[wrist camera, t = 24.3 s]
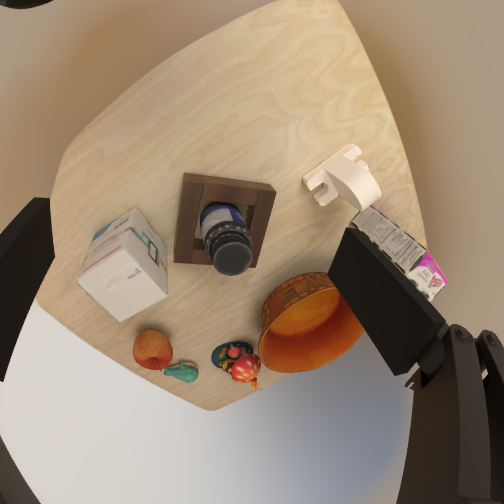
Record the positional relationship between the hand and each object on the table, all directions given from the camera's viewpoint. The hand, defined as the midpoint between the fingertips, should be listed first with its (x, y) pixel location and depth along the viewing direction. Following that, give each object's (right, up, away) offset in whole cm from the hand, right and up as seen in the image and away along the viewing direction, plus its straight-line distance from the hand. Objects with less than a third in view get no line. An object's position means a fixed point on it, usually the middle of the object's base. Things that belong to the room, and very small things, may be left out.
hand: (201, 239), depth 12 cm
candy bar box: (+24, +4, +39) cm, 46 cm away
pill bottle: (-3, +4, +32) cm, 32 cm away
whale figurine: (-13, -25, +47) cm, 55 cm away
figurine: (-2, -22, +49) cm, 54 cm away
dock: (-3, +4, +31) cm, 32 cm away
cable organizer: (+15, +12, +32) cm, 37 cm away
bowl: (+11, -10, +44) cm, 47 cm away
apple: (-17, -16, +41) cm, 47 cm away
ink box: (-16, +1, +30) cm, 34 cm away
